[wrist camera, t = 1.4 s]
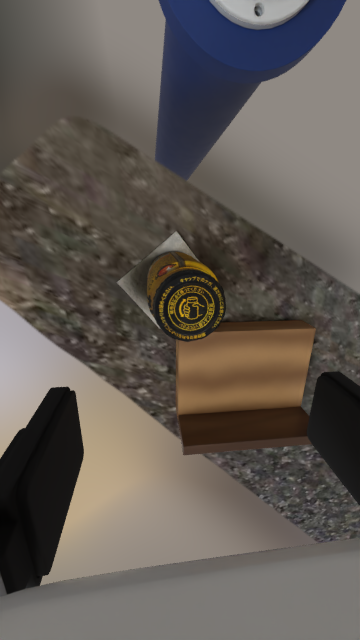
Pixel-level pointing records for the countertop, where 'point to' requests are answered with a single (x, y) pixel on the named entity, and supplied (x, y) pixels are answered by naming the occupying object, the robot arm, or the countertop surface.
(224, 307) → the condiment
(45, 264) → the countertop surface
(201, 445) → the shelf
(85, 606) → the robot arm
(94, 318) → the countertop surface
